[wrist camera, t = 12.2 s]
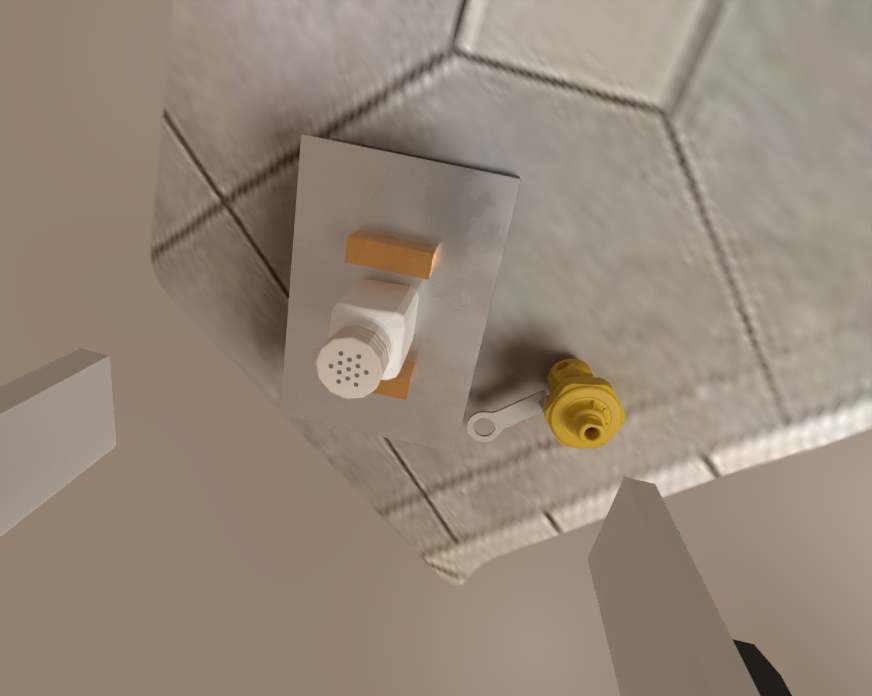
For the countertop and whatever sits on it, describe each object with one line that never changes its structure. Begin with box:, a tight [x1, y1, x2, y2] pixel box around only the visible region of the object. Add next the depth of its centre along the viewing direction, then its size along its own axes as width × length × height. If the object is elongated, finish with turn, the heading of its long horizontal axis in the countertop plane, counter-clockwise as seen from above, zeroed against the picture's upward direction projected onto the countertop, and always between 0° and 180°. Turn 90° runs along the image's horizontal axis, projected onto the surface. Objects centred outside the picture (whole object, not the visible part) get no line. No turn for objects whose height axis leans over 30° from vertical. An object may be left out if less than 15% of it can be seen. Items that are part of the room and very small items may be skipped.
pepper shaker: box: [316, 279, 419, 399], centre depth 27 cm, size 4×4×10 cm
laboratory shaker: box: [280, 134, 521, 452], centre depth 34 cm, size 19×14×11 cm
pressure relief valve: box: [467, 359, 625, 448], centre depth 37 cm, size 6×12×10 cm, turn 120°
